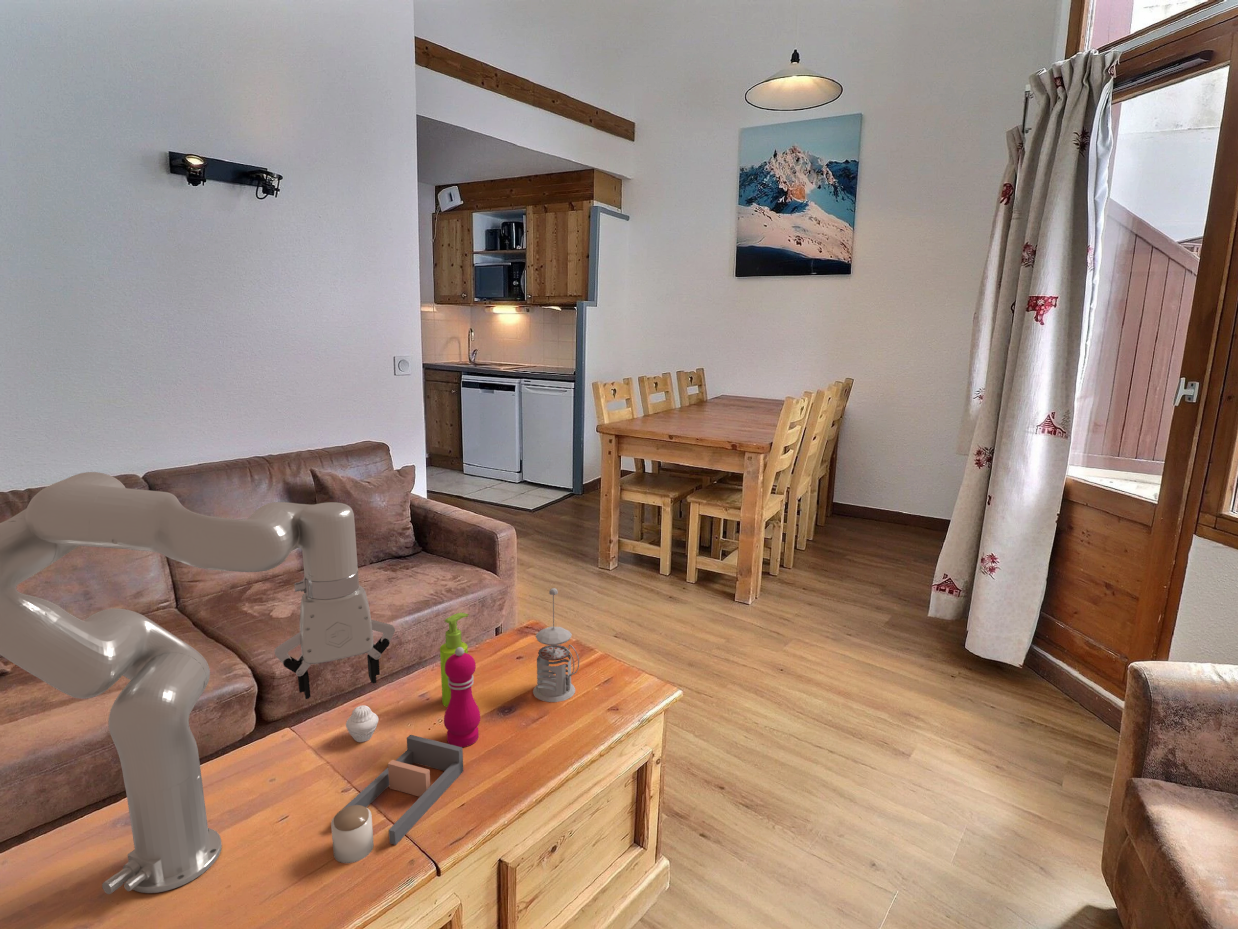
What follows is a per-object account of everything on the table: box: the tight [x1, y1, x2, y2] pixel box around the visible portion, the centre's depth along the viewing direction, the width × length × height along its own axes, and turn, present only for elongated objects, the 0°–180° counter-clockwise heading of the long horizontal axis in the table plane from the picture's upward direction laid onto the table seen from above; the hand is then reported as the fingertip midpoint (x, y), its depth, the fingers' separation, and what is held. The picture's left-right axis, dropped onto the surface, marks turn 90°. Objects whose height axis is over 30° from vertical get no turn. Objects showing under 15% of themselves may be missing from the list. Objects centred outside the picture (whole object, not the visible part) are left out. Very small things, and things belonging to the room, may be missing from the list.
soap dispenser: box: [439, 612, 469, 708], centre depth 152 cm, size 6×7×20 cm
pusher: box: [387, 759, 431, 798], centre depth 124 cm, size 1×8×5 cm, turn 70°
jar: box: [330, 805, 374, 864], centre depth 110 cm, size 6×6×6 cm
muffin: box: [345, 705, 379, 743], centre depth 139 cm, size 6×6×7 cm
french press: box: [532, 587, 580, 703], centre depth 156 cm, size 10×12×25 cm
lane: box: [342, 734, 464, 846], centre depth 122 cm, size 20×12×5 cm, turn 160°
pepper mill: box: [443, 647, 481, 748], centre depth 138 cm, size 7×7×20 cm
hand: (340, 687), depth 108 cm, fingers open, 9 cm apart
